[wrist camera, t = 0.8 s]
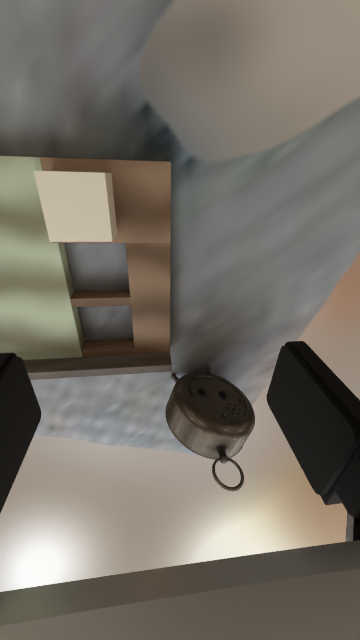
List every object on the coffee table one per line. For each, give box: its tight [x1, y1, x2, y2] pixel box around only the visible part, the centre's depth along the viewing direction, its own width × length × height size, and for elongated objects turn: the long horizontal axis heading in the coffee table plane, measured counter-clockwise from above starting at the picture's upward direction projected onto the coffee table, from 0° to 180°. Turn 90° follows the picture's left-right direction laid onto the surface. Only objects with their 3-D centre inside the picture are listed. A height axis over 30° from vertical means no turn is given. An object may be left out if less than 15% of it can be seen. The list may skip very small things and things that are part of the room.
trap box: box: [0, 156, 172, 380], centre depth 26 cm, size 22×22×4 cm
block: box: [34, 171, 117, 242], centre depth 21 cm, size 5×5×4 cm
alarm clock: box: [166, 364, 255, 491], centre depth 31 cm, size 11×5×16 cm, turn 71°
